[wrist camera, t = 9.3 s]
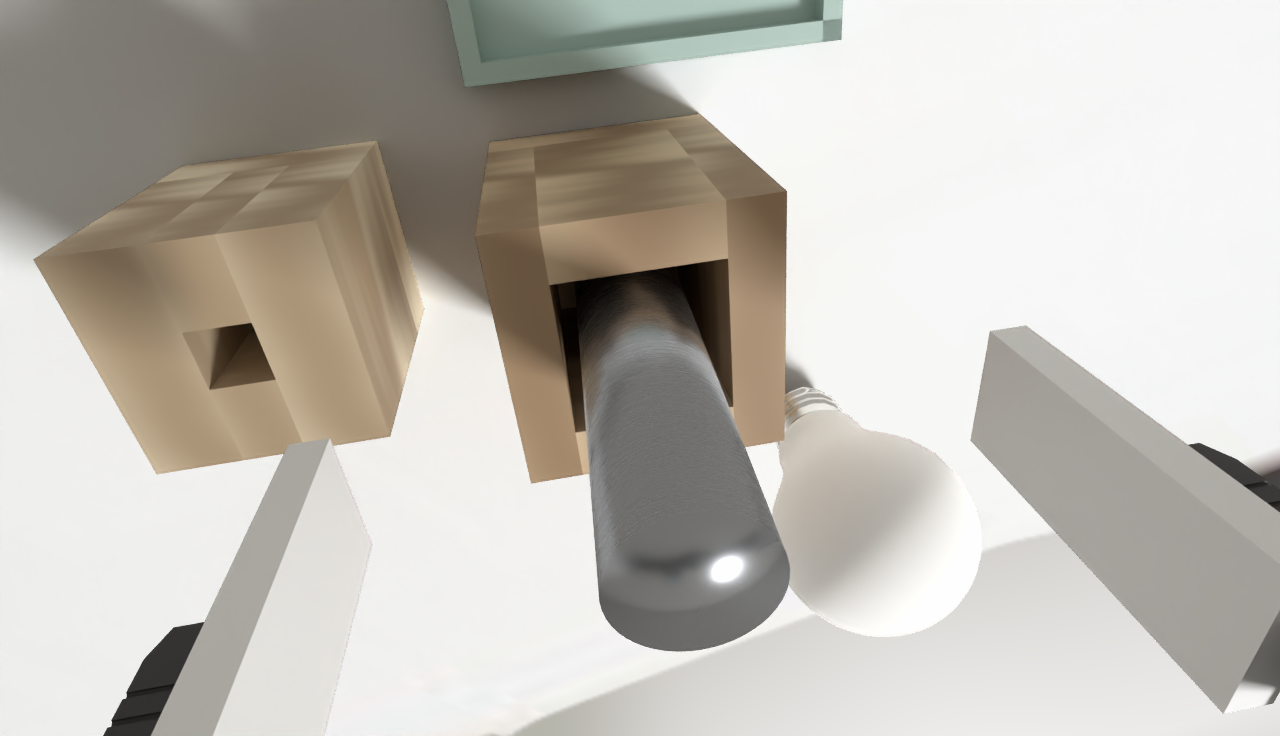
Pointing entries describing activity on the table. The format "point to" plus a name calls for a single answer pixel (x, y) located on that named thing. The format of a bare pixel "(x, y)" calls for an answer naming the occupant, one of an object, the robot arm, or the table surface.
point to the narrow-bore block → (247, 305)
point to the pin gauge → (669, 474)
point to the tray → (624, 33)
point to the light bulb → (871, 522)
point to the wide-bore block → (631, 265)
